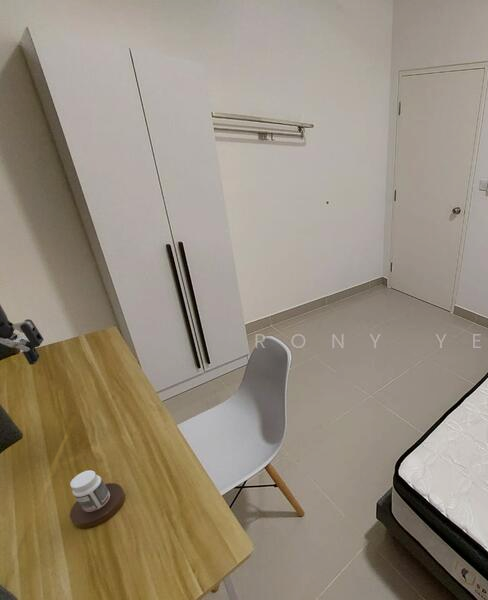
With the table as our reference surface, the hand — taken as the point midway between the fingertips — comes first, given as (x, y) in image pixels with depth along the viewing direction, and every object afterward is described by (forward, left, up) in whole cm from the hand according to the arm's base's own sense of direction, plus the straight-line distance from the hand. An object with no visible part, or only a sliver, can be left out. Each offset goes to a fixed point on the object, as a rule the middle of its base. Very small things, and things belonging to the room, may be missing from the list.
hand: (7, 367), depth 73 cm
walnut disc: (+12, -22, -28) cm, 38 cm away
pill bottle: (+12, -22, -26) cm, 36 cm away
